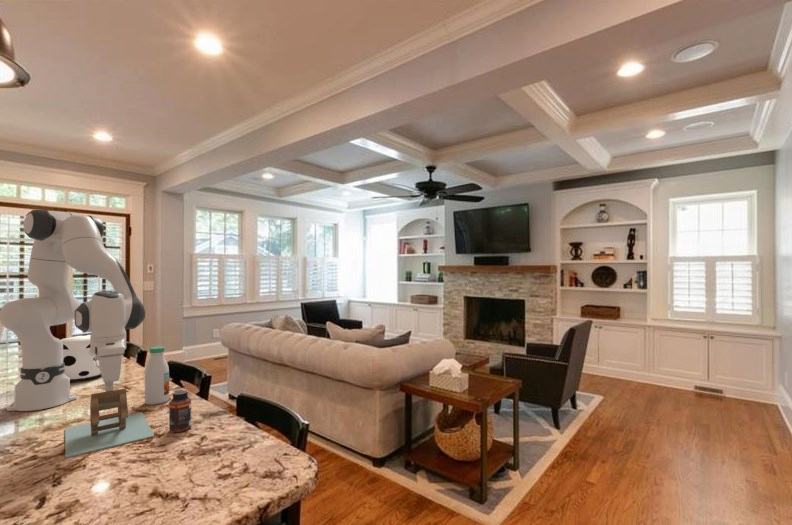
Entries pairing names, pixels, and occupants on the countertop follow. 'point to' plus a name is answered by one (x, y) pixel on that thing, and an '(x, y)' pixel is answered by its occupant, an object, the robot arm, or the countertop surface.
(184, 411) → the supplement bottle
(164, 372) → the milk bottle
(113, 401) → the open wooden box
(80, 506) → the countertop surface
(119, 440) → the mat
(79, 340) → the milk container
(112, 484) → the countertop surface
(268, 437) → the countertop surface
